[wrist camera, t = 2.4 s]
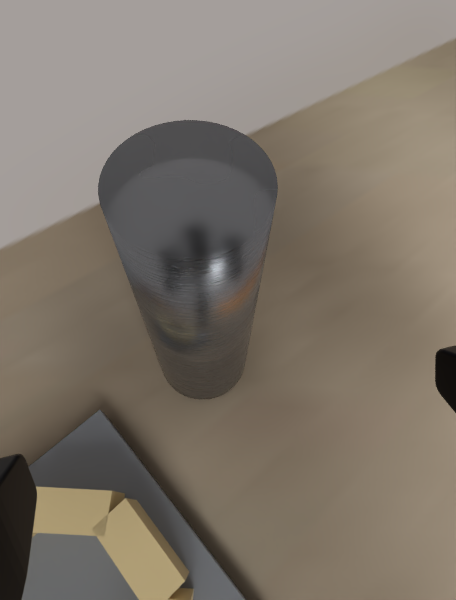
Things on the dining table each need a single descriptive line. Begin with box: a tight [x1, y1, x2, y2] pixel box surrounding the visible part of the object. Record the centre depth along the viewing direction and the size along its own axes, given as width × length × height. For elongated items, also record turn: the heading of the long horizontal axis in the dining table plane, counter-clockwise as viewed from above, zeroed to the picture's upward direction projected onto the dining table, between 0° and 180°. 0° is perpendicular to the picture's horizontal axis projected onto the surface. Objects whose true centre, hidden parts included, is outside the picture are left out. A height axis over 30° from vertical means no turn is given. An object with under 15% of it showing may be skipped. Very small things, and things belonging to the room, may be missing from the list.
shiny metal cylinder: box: [98, 120, 278, 399], centre depth 16 cm, size 4×4×13 cm
